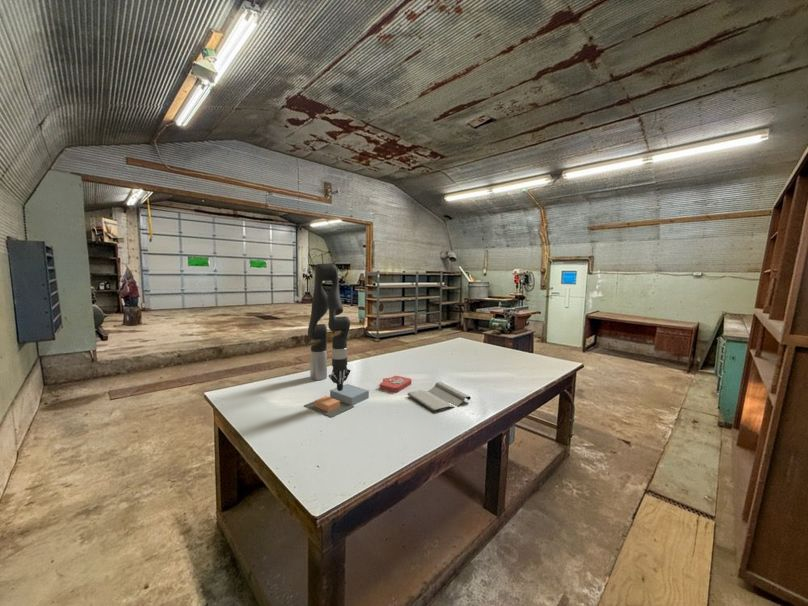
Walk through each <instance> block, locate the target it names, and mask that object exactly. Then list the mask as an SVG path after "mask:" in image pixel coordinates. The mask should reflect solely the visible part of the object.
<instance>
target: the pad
mask: <svg viewBox="0 0 808 606" xmlns="http://www.w3.org/2000/svg"><path fill="white" fill-rule="evenodd" d="M303 406H304V407H306V408H308V409H311V410H313V411H315V412H318V413H320V414H322V415H325V416H327V417H329V418H334V417H336V416H338V415H341V414H343V413H345V412H346V411H349V410H351V409H353V408H355V405H349V404H347V403H344V402H341V401H340V407H339V408H336V409H334V410H332V411H330V412H327V411H325V410H322V409H320V408H318V407H315V400H314V401H312V402H309V403H306V404H303Z"/></svg>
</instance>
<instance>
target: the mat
mask: <svg viewBox="0 0 808 606" xmlns="http://www.w3.org/2000/svg"><path fill="white" fill-rule="evenodd" d="M406 395H407V396H408V397H409V398H411V399H413V400H414V401H416V402H418V403H420V404H421V405H422V406H423V407H425V408H427V409H428V410H429V411H431V412H432V413H435V411H438V410H443V409H445V408H453V407H454V408H455V407H456V406H458V407H459V406H460V405H461V404H463V402H464V401H465V400H466V399H467V401H470V400H471V396H470V395H468V394H466V393H464V392H462V391H460V390H458V389H456V388H454V387H452V386H450V385H448V384H446V383H444V382H442V381H437V382H436V383H435V384H434V386H433V387H431V388H430V389H429V390H421V389H420V390H414V391H409V392H407V394H406ZM450 403H451V405H450ZM452 404H453V405H452ZM454 405H455V406H454Z"/></svg>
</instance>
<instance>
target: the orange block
mask: <svg viewBox="0 0 808 606" xmlns="http://www.w3.org/2000/svg"><path fill="white" fill-rule="evenodd" d="M314 401H315V407H318V408H320V409H322V410H325V411H327V412H330V411H332V410H334V409H336V408H339V407H340V401H339V400H336V399H333V398H331V397H330V396H328V395H325V396H323V397H320V398H317V399H315V400H314Z"/></svg>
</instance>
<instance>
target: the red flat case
mask: <svg viewBox="0 0 808 606" xmlns="http://www.w3.org/2000/svg"><path fill="white" fill-rule="evenodd" d="M411 385H412V378H410V377H404V376H400V375H394V376H391V377H386V378H382V382H380V383H379V389H380V390H381V391H387V392H389V393H395V394H397V393H399V392H401V391H403V390H405V389H406V388H408V387H409V386H411Z"/></svg>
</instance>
